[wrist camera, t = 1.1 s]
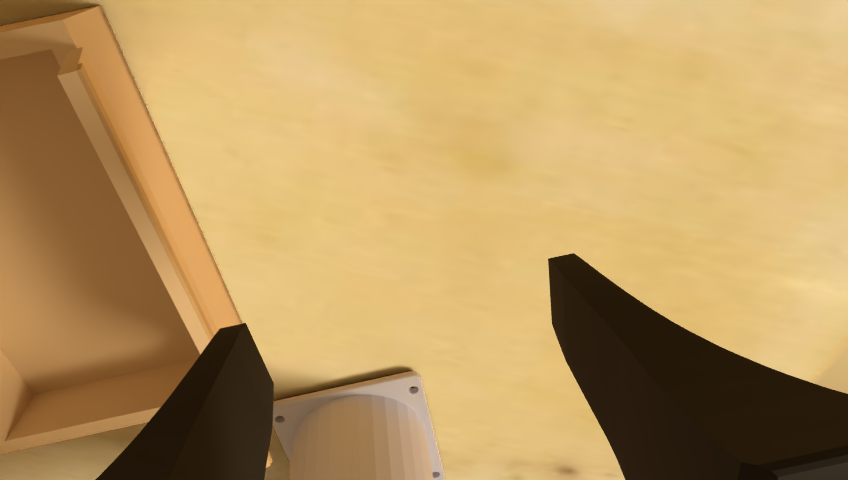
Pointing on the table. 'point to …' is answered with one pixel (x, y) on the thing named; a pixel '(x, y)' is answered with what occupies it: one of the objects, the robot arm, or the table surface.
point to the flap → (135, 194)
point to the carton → (84, 249)
